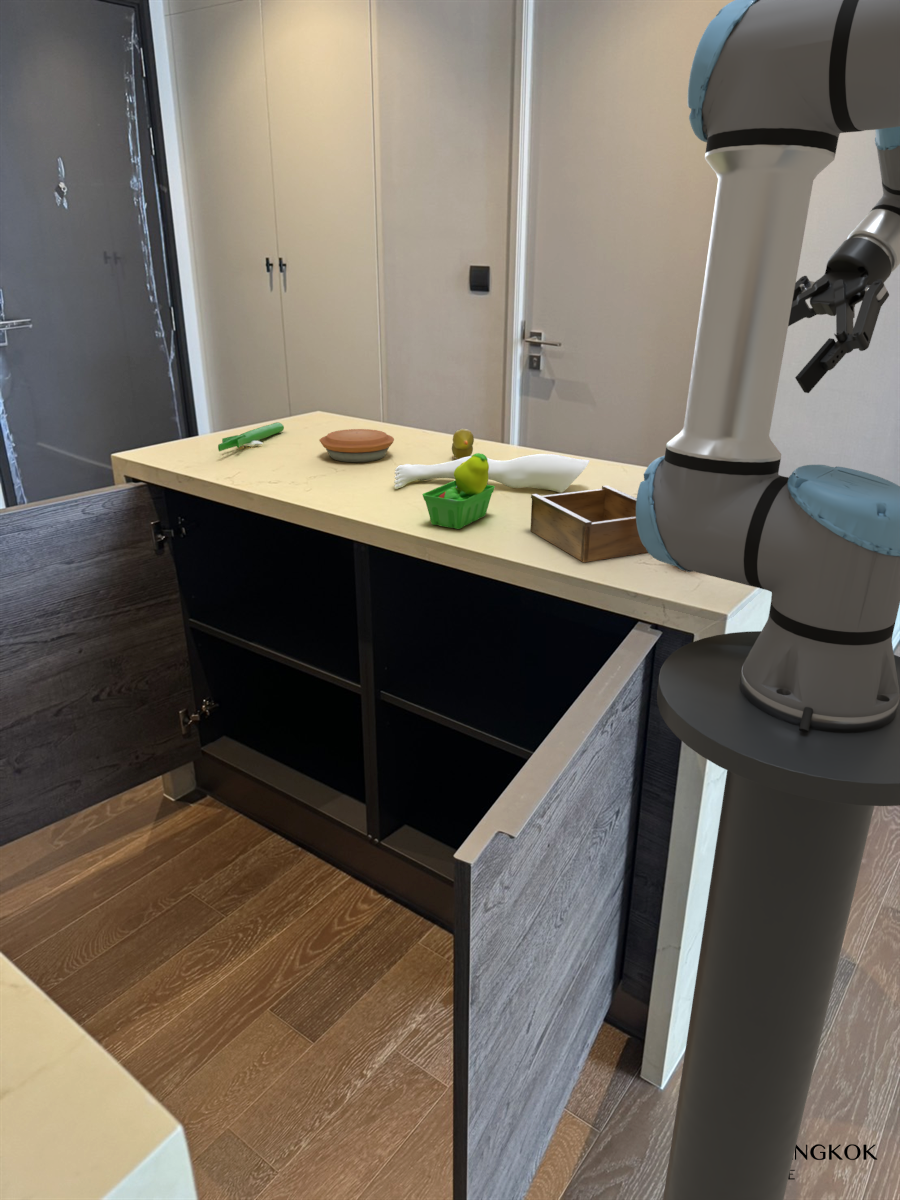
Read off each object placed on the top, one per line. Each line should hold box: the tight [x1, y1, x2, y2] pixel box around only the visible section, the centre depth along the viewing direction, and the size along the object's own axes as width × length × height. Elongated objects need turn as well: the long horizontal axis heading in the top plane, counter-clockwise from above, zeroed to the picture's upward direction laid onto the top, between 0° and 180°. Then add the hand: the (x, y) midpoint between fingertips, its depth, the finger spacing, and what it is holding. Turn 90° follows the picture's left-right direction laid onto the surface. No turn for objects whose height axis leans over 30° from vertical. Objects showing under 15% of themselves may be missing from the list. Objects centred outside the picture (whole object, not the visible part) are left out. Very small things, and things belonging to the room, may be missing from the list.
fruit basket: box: [422, 452, 496, 530], centre depth 137 cm, size 11×9×11 cm
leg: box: [393, 453, 591, 494], centre depth 157 cm, size 7×35×10 cm
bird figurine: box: [451, 428, 475, 460], centre depth 178 cm, size 4×15×6 cm, turn 6°
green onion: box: [217, 422, 285, 452], centre depth 190 cm, size 5×3×30 cm
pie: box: [318, 428, 395, 463], centre depth 180 cm, size 16×16×5 cm
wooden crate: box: [530, 484, 648, 563], centre depth 129 cm, size 16×14×6 cm
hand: (763, 378), depth 114 cm, fingers open, 13 cm apart
